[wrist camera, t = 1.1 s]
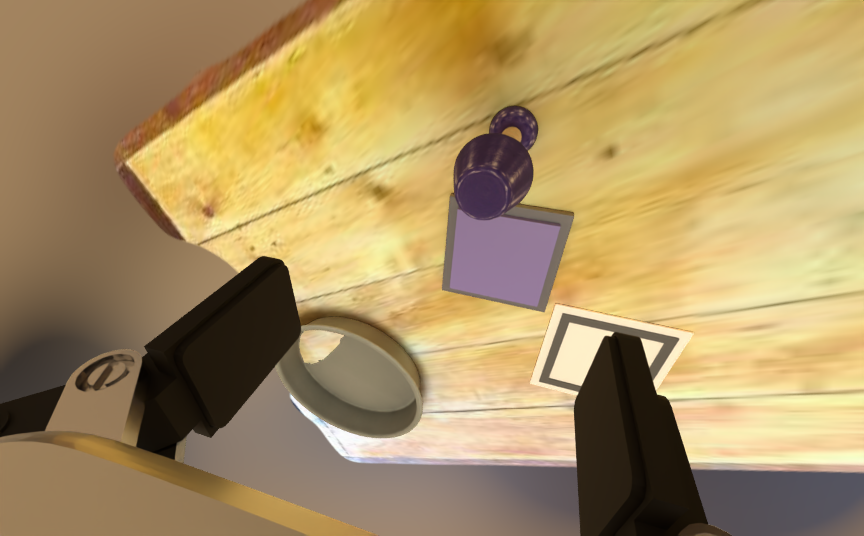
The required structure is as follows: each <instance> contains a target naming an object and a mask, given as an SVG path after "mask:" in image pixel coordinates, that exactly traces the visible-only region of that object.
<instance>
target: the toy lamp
mask: <svg viewBox="0 0 864 536" xmlns="http://www.w3.org/2000/svg"><path fill="white" fill-rule="evenodd" d="M537 134H538V125H537V121H536V119H535V117H534V116H533V114H532V113H531V112H530V111H529V110H527V109H525V108H523V107H519V106H510V107H507V108H504V109H502V110H501V111H499V112H498V113H497V114H496V116H495V117H494V118H493V120H492V122H491V124H490V129H489V134H484V135H480V136H478V137H476V138H474V139H472V140H471V141H470V142H468V143H467V144H466V145H465V146H464V147H463V148H462V150H461V151H460V153H459V155H458V157H457V159H456V162H455V166H454V195H455V199H456V202H457V204H458V206H459V208H460V209H461V210H462V211H463V212H464V213H465V214H466V215H468V216H469V217H471V218H474V219H476V220H492V219H495V218H498V217H500V216H501V215H503V214H505V213H506V212H507V211H509V210H511V209H512V208H513V207H515V206H516V205H517V204H519V203H520V202H521V201H522V200H523V198H524V197H525V196H526V195H527V193H528V191H529V189H530V187H531V184H532V181H533V164H532V160H531V157H530V155H529V153H528V150H529V149H530V148H531V147H532V146H533V144H534V143H535V141H536V138H537Z"/></svg>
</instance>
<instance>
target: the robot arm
mask: <svg viewBox="0 0 864 536" xmlns="http://www.w3.org/2000/svg"><path fill="white" fill-rule="evenodd" d="M300 333H301V324H300V320H299V315H298V311H297V306H296V302H295V297H294V293H293V289H292V284H291V280H290V275H289V271H288V268H287V266H285V265H284V262H283V261H282V260H280V259H275V258H271V257H266V256H262V257H260V258H258V259H257V260H256V261H254V262H253V263H252V264H250V265H249V266H248V267H246V268H245V269H244V270H243V271H241V272H240V273H239V274H238V275H236V276H235V277H234V278H232V279H231V280H230V281H228V282H227V283H226V284H225V285H223V286H222V287H221V288H219V289H218V290H217V291H216V292H214V293H213V294H212V295H210V296H209V297H208V298H206V299H205V300H204V301H202V302H201V303H200V304H199V305H197V306H196V307H195V308H193V309H192V310H191V311H190V312H188V313H187V314H186V315H184V316H183V317H182V318H180V319H179V320H178V321H177V322H175V323H174V324H173V325H171V326H170V327H169V328H167V329H166V330H165V331H164V332H162V333H161V334H160V335H159V336H157V337H156V338H154V339H153V340H152V341H151V342H149V343H148V344H147V345H145V346H144V347H145V349H146V351H147V352H148V353H147V354H146V355H145V356H143V357H142V356H141V355H140V354H139V353H138V352H136V351H134V350H128V349H127V350H126V349H122V350H115V351H111V352H108V353H105V354H102V355H99V356H97V357H95V358H93V359H91V360H89V361H88V362H86V363H85V364H83V365H82V366H80V367H79V368H78V369H77V370H76V371H75V372H74V373H73V374H72V375H71V377H70V378H69V380H68V381H67V384H66V385H63V386H60V387H57V388H53V389H50V390H47V391H43V392H40V393H36V394H33V395H29V396H26V397H22V398H19V399H15V400H12V401H9V402H5V403H2V404H0V536H379V535H376V534H373V533H371V532H368V531H366V530H363V529H360V528H357V527H355V526H352V525H349V524H346V523H344V522H341V521H338V520H336V519H333V518H330V517H327V516H325V515H322V514H319V513H317V512H314V511H312V510H309V509H306V508H303V507H301V506H298V505H295V504H293V503H290V502H287V501H284V500H282V499H279V498H276V497H274V496H271V495H268V494H265V493H263V492H260V491H257V490H255V489H252V488H249V487H246V486H244V485H241V484H238V483H235V482H233V481H230V480H227V479H225V478H222V477H219V476H216V475H213V474H211V473H208V472H205V471H203V470H200V469H197V468H194V467H191V466H189V465H186V464H183V463H184V454H185V446H186V436H187V435H188V434H189V432H190V431H191V430H192V429H193V430H194V431H195V432H196V433H198V434H201V435H204V436H207V437H210V438H211V437H212V436H213V435H214V434H215V432H216V431H217V430H218V429H219V428H222V427H224V426H226V424H227V423H228V422H229V421H230V420H231V419H232V418H233V416H234V415H235V414H236V413H237V412H238V410H239V409H240V408H241V407H242V405H243V404H244V403H245V402H246V401H247V399H248V398H249V397H250V396H251V395H252V394H253V392H254V391H255V390H256V389H257V387H258V386H259V385H260V384H261V383H262V381H263V380H264V379H265V378H266V376H267V375H268V374H269V373H270V372H271V370H272V369H273V368H274V367H275V366H276V365H277V363H278V362H279V361H280V360H281V359H282V357H283V356H284V355H285V354H286V353H287V351H288V350H289V349H290V348H291V347H292V345H293V344H294V343H295V342H296V340H297V339H298V338H299V336H300ZM574 422H575V440H576V459H577V477H578V496H579V515H580V534H581V536H732V535H730V534H729V533H727V532H725V531H723V530H721V529H719V528H717V527H715V526H712V525H708V522H707V519H706V516H705V512H704V509H703V506H702V503H701V500H700V497H699V493H698V490H697V487H696V484H695V480H694V477H693V474H692V471H691V468H690V464H689V461H688V458H687V455H686V452H685V448H684V445H683V442H682V439H681V436H680V432H679V429H678V426H677V423H676V420H675V416H674V413H673V410H672V407H671V405H670V402H669V400H668V399H667V398H666V397H664V396H661V395H657V393H656V390H655V386H654V383H653V379H652V376H651V372H650V368H649V365H648V361H647V358H646V354H645V351H644V347H643V344H642V341H641V338H640V337H637V336H633V335H628V334H624V333H619V332H614V333H613V334H612V336H604V338H603V340H602V342H601V344H600V346H599V348H598V351H597V353H596V355H595V357H594V359H593V362H592V364H591V366H590V368H589V371H588V373H587V375H586V377H585V379H584V382H583V384H582V386H581V388H580V390H579V393H578V395H577V397H576V400H575V405H574Z"/></svg>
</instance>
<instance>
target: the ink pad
mask: <svg viewBox="0 0 864 536" xmlns="http://www.w3.org/2000/svg"><path fill="white" fill-rule="evenodd" d="M573 219H574V213H572V212H566V211H559V210H553V209H547V208H541V207H534V206H528V205H522V204H517V205H516V206H515V207H513V208H512V209H511V210H509V211H507V212H506V213H505V214H503V215H501V216H500V217H498V218H495V219H492V220H476V219H474V218H471V217H469V216H468V215H466V214H465V213H464V212H463V211H462V210H461V209H460V208H459V206H458V204H457V202H456V199H455V195H454V193H452V194H451V196H450V203H449V215H448V226H447V238H446V250H445V261H444V273H443V285H442V290H445V291H449V292H454V293H458V294H463V295H468V296H472V297H477V298H481V299H486V300H491V301H495V302H500V303H504V304H509V305H513V306H518V307H523V308H527V309H532V310H536V311H541V312H545V309H546V306H547V303H548V299H549V296H550V293H551V290H552V286H553V283H554V280H555V277H556V273H557V270H558V267H559V264H560V261H561V257H562V254H563V251H564V248H565V244H566V241H567V238H568V235H569V231H570V228H571V225H572V222H573Z"/></svg>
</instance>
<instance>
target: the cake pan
mask: <svg viewBox="0 0 864 536" xmlns="http://www.w3.org/2000/svg"><path fill="white" fill-rule="evenodd" d="M307 330H324V331H331V332H335V333H339V334H342V335H344V337H343V338H341V340H340V344H339V345H338V346H337V347H336V348H335V349H334V350H333V351H332V352H331V353H330V354H329V355H328V356H327V357H326V358H325V359H324V360H319V362H318V363H314V364H310V363H309V364H308V363H304V361H303V358H302V356H301V353H300V348H299V342H300V336H301V334H302V333H303V331H307ZM300 336H299V338H298V339H297V340H296V342H295V343H294V344H293V345H292V347H291V348H290V349H289V350H288V351H287V353H286V354H285V355H284V356H283V357H282V359H281V360H280V361H279V362H278V363H277V365H276V366H275V368H276V370H277V373H278V375H279V377H280V379H281V381H282V382H283V384H284V386H285V387H286V388H287V390H288V391H289V392H290V393H291V394H292V396H293V397H294V398H295V399H296V400H297V401H298V402H299V403H300V404H302V405H303V406H304V407H305V408H306V409H308V410H309V411H310V412H311V413H313V414H314V415H316V416H317V417H319V418H320V419H322V420H324V421H325V422H327V423H329V424H331V425H333V426H335V427H337V428H340V429H342V430H344V431H347V432H350V433H353V434H357V435H360V436H365V437H371V438H392V437H397V436H401V435H404V434H406V433H408V432H410V431H411V430H412V429H413V428H414V427H415V426H416V425H417V424H418V422H419V421H420V418H421V415H422V410H423V407H422V398H421V394H420V392H419V389H420V378H419V374H418V371H417V369H416V366H415V364H414V363H413V361H412V359H411V358H410V357H409V355H408V354H407V353H406V351H405V350H404V349H403V348H402V347H401V346H400V345H399V344H398V343H397V342H395V341H394V340H393V339H392V338H390V337H389V336H388V335H386V334H385V333H383V332H381V331H380V330H378V329H376V328H374V327H372V326H370V325H368V324H365V323H363V322H360V321H357V320H353V319H349V318H343V317H324V318H319V319H316V320H314V321H312V322H310V323H308V324H307V325H303V326H301V333H300Z"/></svg>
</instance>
